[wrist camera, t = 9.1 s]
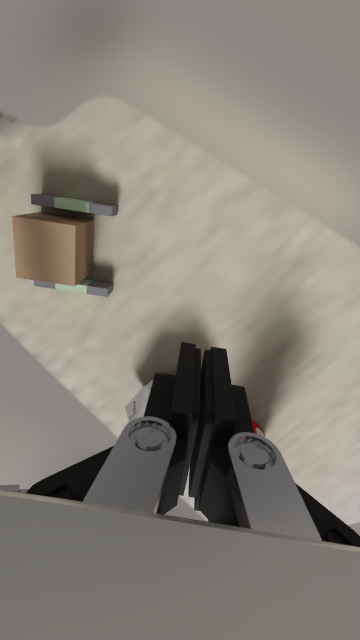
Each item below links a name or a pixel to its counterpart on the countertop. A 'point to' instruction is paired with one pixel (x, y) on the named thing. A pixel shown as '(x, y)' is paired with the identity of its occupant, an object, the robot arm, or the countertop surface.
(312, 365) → the countertop surface
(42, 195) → the grey blocks
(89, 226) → the walnut block
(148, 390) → the die
